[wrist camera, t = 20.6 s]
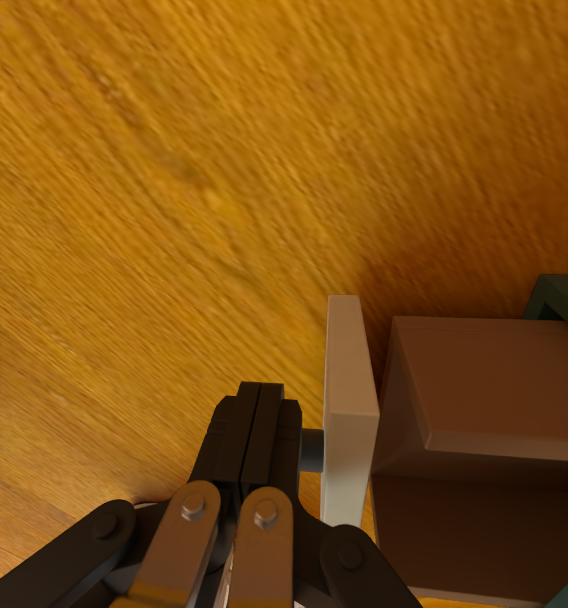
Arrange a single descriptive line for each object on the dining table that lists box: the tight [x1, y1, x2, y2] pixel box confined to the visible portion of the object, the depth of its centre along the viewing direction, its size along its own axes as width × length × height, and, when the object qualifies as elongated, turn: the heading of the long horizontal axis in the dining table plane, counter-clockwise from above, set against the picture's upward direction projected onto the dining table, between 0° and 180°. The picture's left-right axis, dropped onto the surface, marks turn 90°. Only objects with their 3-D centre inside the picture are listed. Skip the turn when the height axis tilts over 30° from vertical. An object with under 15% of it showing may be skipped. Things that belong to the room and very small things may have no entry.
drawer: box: [300, 295, 568, 608], centre depth 13 cm, size 14×11×6 cm
